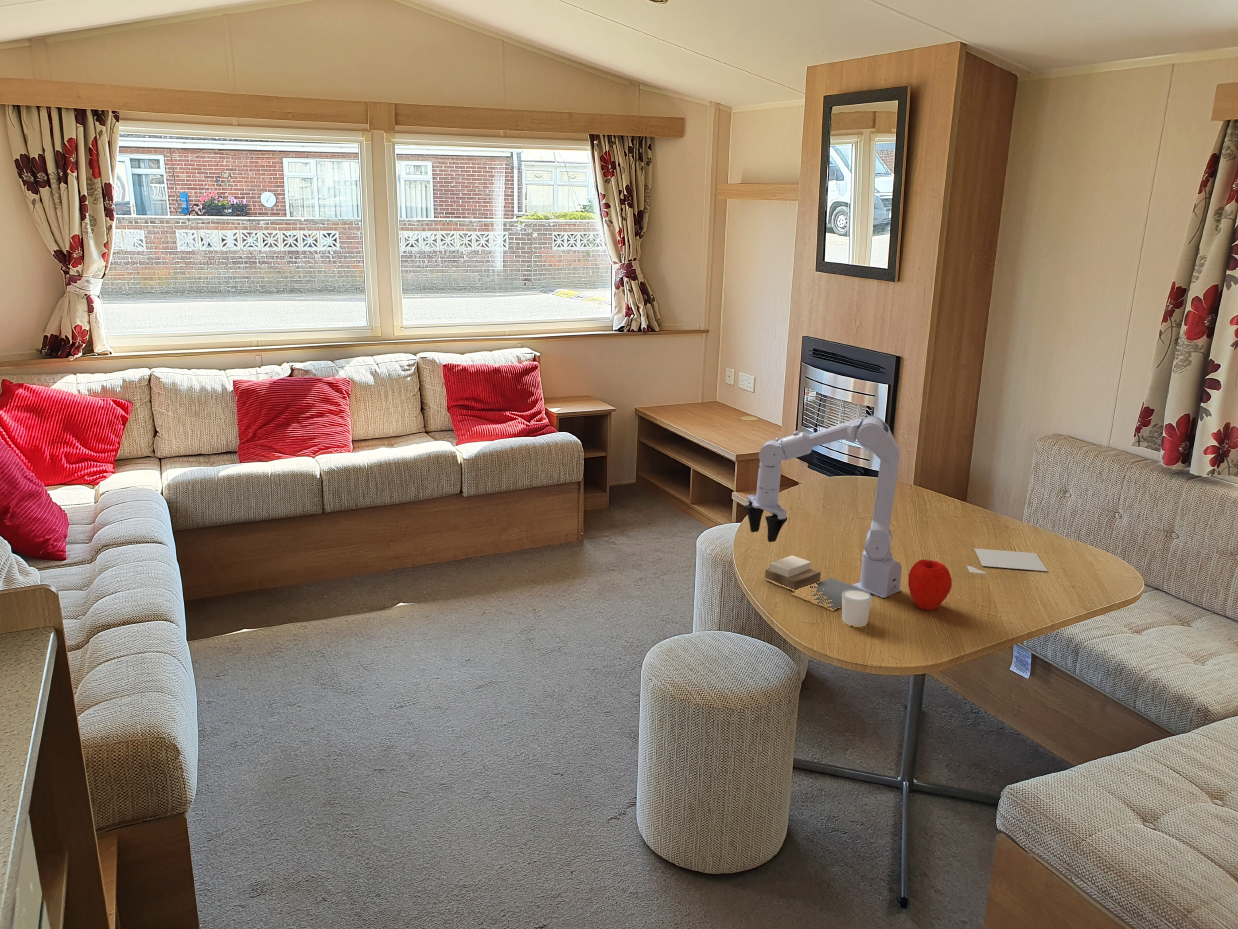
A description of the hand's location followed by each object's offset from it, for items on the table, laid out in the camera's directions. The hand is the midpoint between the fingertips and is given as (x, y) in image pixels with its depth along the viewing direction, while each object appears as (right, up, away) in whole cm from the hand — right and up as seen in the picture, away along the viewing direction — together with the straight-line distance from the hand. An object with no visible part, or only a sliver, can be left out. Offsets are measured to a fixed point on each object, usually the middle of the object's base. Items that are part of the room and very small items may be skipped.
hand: (763, 536), depth 238 cm
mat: (+15, -14, -11) cm, 23 cm away
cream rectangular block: (+7, -8, -3) cm, 11 cm away
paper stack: (+66, -9, +10) cm, 67 cm away
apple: (+37, -16, -17) cm, 44 cm away
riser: (+7, -12, -3) cm, 14 cm away
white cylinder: (+17, -18, -26) cm, 36 cm away
